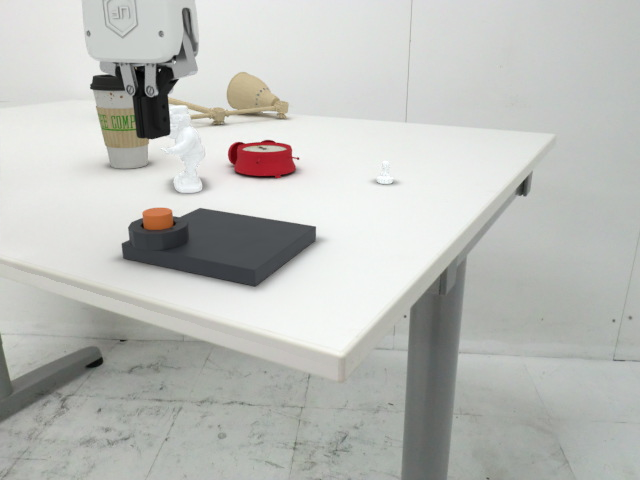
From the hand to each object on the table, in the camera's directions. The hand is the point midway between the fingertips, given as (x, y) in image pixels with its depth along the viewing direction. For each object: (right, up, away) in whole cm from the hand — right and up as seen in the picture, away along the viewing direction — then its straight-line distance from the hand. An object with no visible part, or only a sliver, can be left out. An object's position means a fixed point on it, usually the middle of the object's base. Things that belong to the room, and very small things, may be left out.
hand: (154, 136), depth 56 cm
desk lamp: (-14, +22, +96) cm, 99 cm away
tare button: (-1, -9, +3) cm, 10 cm away
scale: (+6, -11, +6) cm, 14 cm away
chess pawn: (+27, -1, +35) cm, 44 cm away
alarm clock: (+6, +2, +42) cm, 43 cm away
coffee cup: (-17, +3, +44) cm, 47 cm away
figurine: (-4, -2, +31) cm, 32 cm away
